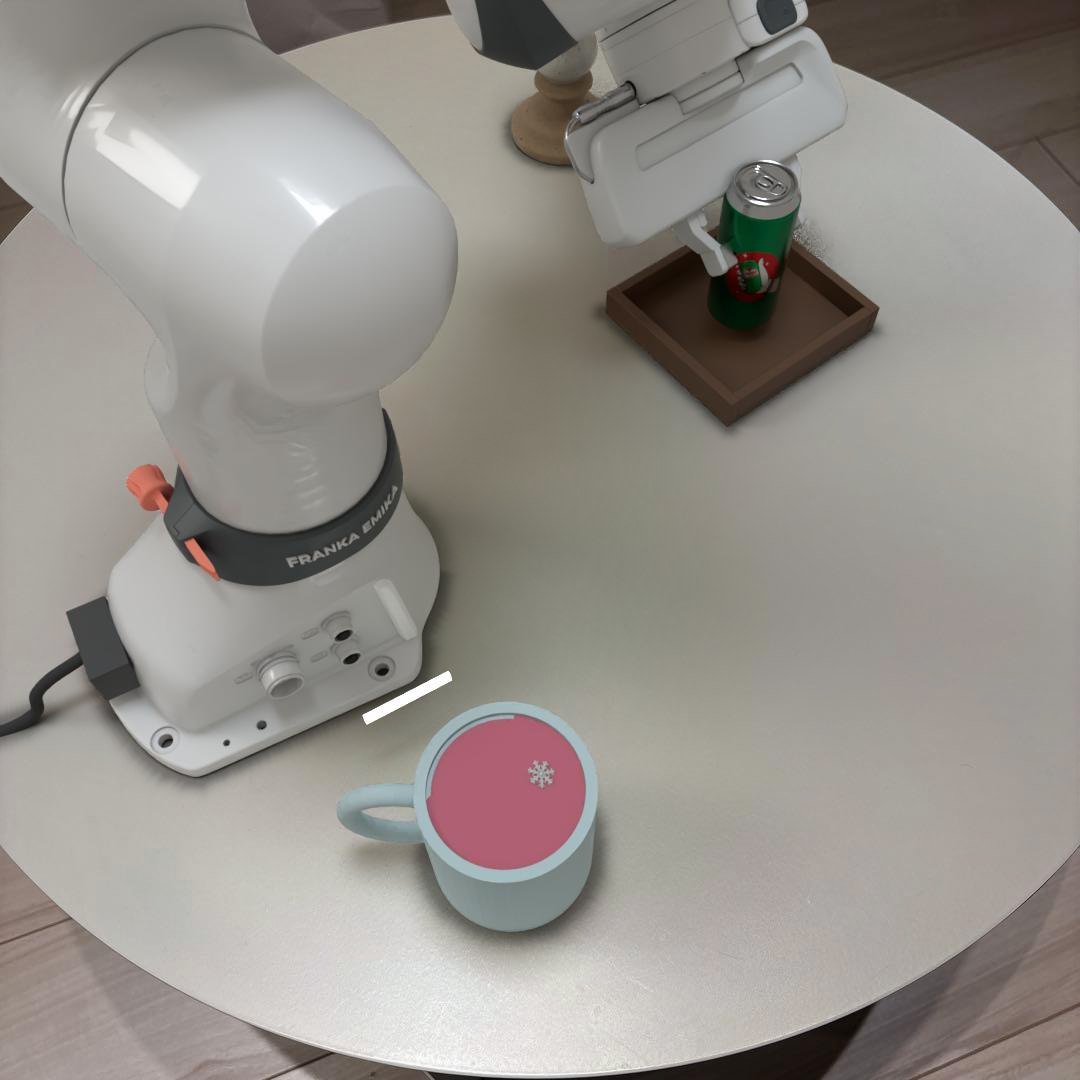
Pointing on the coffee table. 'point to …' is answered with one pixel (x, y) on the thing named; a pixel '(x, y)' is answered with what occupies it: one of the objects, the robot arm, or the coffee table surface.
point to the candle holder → (556, 103)
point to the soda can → (755, 243)
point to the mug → (496, 814)
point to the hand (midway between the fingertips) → (759, 250)
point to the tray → (739, 355)
